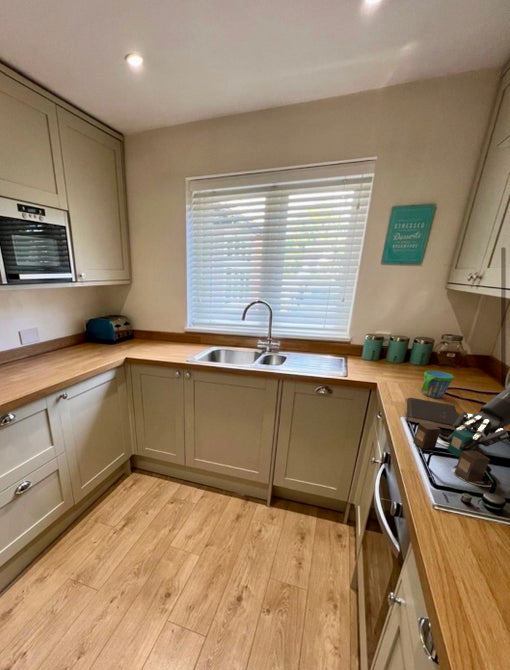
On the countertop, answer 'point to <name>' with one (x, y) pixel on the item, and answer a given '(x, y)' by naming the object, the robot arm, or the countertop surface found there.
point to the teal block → (459, 441)
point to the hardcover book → (431, 413)
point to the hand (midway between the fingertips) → (455, 445)
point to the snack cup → (436, 383)
